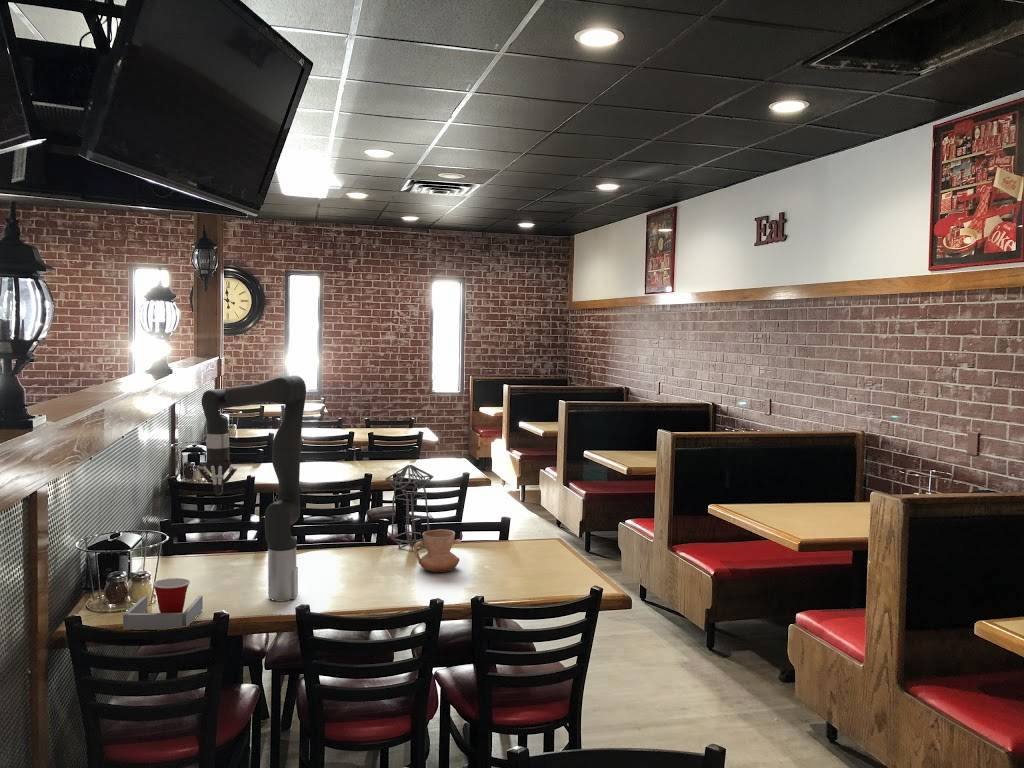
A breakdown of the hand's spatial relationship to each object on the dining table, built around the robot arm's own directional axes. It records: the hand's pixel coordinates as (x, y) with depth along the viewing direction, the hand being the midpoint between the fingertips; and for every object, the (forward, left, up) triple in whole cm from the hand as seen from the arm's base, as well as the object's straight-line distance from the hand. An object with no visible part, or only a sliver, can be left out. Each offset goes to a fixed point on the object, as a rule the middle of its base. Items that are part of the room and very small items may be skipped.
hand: (218, 494), depth 280 cm
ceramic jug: (-77, -14, -32) cm, 85 cm away
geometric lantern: (-65, -43, -32) cm, 84 cm away
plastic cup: (+5, +33, -32) cm, 47 cm away
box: (+7, +35, -32) cm, 48 cm away
